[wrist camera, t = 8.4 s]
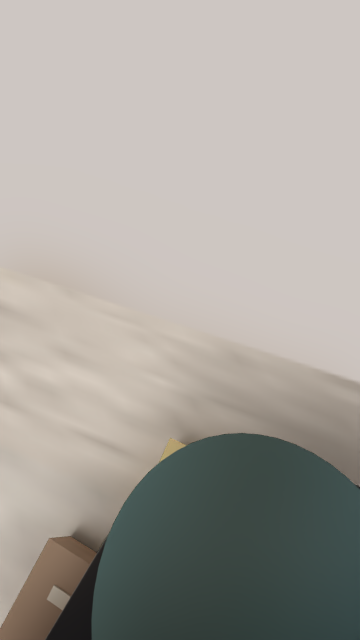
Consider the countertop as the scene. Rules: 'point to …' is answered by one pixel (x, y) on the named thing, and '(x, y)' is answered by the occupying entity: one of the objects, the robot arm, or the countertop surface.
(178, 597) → the teal column with base
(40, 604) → the board
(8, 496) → the countertop surface
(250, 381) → the countertop surface
